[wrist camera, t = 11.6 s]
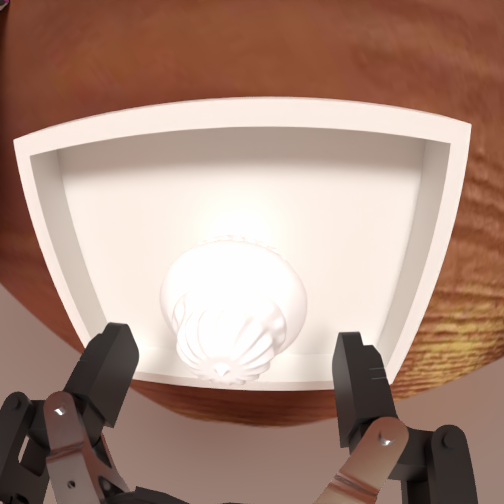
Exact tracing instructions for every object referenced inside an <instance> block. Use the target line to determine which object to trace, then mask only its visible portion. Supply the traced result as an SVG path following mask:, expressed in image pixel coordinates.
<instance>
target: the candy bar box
mask: <svg viewBox="0 0 504 504" xmlns="http://www.w3.org/2000/svg"><path fill="white" fill-rule="evenodd" d="M8 2H9V0H0V11H1V10H2V9H3V8H4V7H5V6H6V5H7V4H8Z"/></svg>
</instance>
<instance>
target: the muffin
mask: <svg viewBox="0 0 504 504" xmlns="http://www.w3.org/2000/svg"><path fill="white" fill-rule="evenodd" d="M160 307H161V311H162V314H163V317H164V320H165V322H166V324H167V326H168V328H169V329H170V331H171V332H172V334H173V335H174V336H175V338H176V339H177V343H176V350H177V353H178V355H179V357H180V358H181V360H182V361H183V364H184V365H185V367H186V368H187V369H188V370H189V371H190V372H192V373H193V374H196V375H197V377H198V378H200V379H201V380H206V381H209V380H210V381H211V382H212V383H213V384H220V383H222V384H225V385H226V386H230V385H232V384H238V385H243V384H245V382H246V381H254V380H256V379H258V378H259V376H260V374H262V373H264V372H266V371H267V370H268V369H269V368H270V360H272V359H273V358H274V357H275V356H277V355H278V354H280V353H281V352H283V351H284V350H285V349H287V348H288V347H289V346H290V345H291V344H292V343H293V342H294V341H295V339H296V338H297V336H298V335H299V333H300V331H301V329H302V327H303V325H304V322H305V319H306V314H307V295H306V290H305V287H304V285H303V282H302V280H301V278H300V277H299V275H298V274H297V272H296V271H295V269H294V268H293V267H292V266H291V265H290V264H289V263H288V262H287V261H286V258H285V257H283V256H282V255H280V254H279V253H277V250H276V249H275V248H273V247H271V246H269V245H267V244H266V243H265V242H263V241H260V240H258V239H256V238H252V237H250V236H243V235H242V234H240V235H236V234H230V235H224V236H217V237H211V239H210V240H206V241H201V242H199V245H197V246H194V247H192V248H190V249H188V250H186V251H185V252H183V253H182V254H180V255H179V256H178V257H177V258H176V259H175V260H174V261H173V262H172V264H171V265H170V267H169V268H168V270H167V272H166V274H165V276H164V278H163V281H162V285H161V289H160Z"/></svg>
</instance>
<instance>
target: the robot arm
mask: <svg viewBox="0 0 504 504" xmlns="http://www.w3.org/2000/svg"><path fill="white" fill-rule="evenodd" d="M138 362H139V349H138V347H137V344H136V342H135V340H134V337H133V335H132V332H131V330H130V327H129V325H128V324H124V323H115V322H109V323H108V324H107V325H106V327H105V329H104V331H103V332H102V334H101V333H98V334H97V335H96V336H95V337H94V338H93V339H91V340H90V341H89V343H88V345H87V346H86V348H85V350H84V353H83V354H82V355H81V357H80V361H78V363H77V365H76V367H75V368H74V370H73V372H72V374H71V376H70V378H69V380H68V382H67V384H66V386H65V388H64V389H63V391H58V392H55V393H53V394H51V395H50V396H49V397H48V398H47V399H46V400H29V399H28V397H27V396H26V395H25V394H24V393H22V392H14V393H12V394H10V395H9V396H8V397H7V398H6V400H5V401H4V403H3V405H2V407H1V410H0V504H43V501H44V497H45V493H46V490H47V486H48V483H49V479H50V480H51V484H52V488H53V491H54V494H55V498H56V501H57V504H189V503H187V502H184V501H182V500H180V499H177V498H175V497H173V496H170V495H168V494H166V493H163V492H158V491H153V490H149V489H145V488H141V487H137V486H136V490H135V491H132V492H130V490H129V488H128V486H127V484H126V483H125V481H124V480H123V478H122V477H121V476H120V474H119V473H118V471H117V469H116V466H115V464H114V462H113V459H112V457H111V454H110V451H109V449H108V446H107V443H106V441H105V438H104V435H103V433H102V429H103V426H107V427H111V428H114V425H115V422H116V420H117V417H118V414H119V412H120V409H121V406H122V404H123V401H124V398H125V396H126V393H127V390H128V388H129V385H130V383H131V380H132V378H133V375H134V373H135V370H136V368H137V365H138ZM332 376H333V384H334V392H335V400H336V408H337V417H338V427H339V436H340V447H341V448H344V447H349V451H350V456H349V458H348V459H347V461H346V462H345V464H344V465H343V466H342V468H341V469H340V470H339V472H338V473H337V474H336V476H335V477H334V478H333V479H332V481H331V482H330V483H329V484H328V486H327V487H326V488H325V489H324V491H323V492H322V493H321V494H320V496H319V497H318V498H317V499H316V500H315V502H314V503H313V504H375V502H376V500H377V495H378V493H379V491H380V489H381V488H382V486H383V485H384V483H385V481H386V480H387V479H393V480H401V490H402V504H478V500H477V492H476V486H475V479H474V474H473V468H472V463H471V458H470V453H469V449H468V444H467V440H466V437H465V434H464V432H463V431H462V430H461V429H460V428H458V427H457V426H454V425H444V426H441V427H439V428H438V429H437V430H436V431H435V432H433V431H423V430H416V429H412V428H409V427H407V426H406V425H405V424H404V423H403V422H402V421H400V420H399V418H398V416H397V414H396V410H395V406H394V402H393V398H392V394H391V390H390V386H389V383H388V379H387V375H386V371H385V369H384V364H383V361H382V357H381V354H380V353H379V352H378V351H377V350H376V348H375V347H374V346H373V345H363V341H362V337H361V334H360V332H359V331H355V332H339V333H338V337H337V341H336V346H335V350H334V354H333V359H332ZM25 436H28V437H29V441H28V443H27V446H26V449H25V451H24V454H23V457H22V460H21V462H20V463H19V460H18V456H19V452H20V450H21V447H22V444H23V442H24V439H25ZM223 504H240V503H223Z"/></svg>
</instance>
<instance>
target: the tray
mask: <svg viewBox="0 0 504 504" xmlns="http://www.w3.org/2000/svg"><path fill="white" fill-rule="evenodd" d="M470 133H471V124H469V123H466V122H463V121H460V120H456V119H453V118H449V117H446V116H442V115H438V114H434V113H429V112H424V111H419V110H414V109H408V108H402V107H396V106H390V105H383V104H375V103H367V102H359V101H349V100H338V99H324V98H306V97H234V98H216V99H202V100H191V101H181V102H172V103H164V104H156V105H149V106H142V107H136V108H130V109H125V110H119V111H114V112H109V113H104V114H99V115H94V116H90V117H86V118H81V119H77V120H73V121H69V122H66V123H62V124H58V125H55V126H51V127H48V128H45V129H42V130H39V131H36V132H33V133H30V134H28V135H25V136H22V137H20V138H17V139H15V140H13V141H14V147H15V153H16V158H17V163H18V168H19V173H20V177H21V182H22V186H23V190H24V194H25V198H26V202H27V205H28V209H29V212H30V216H31V219H32V223H33V226H34V229H35V232H36V235H37V238H38V241H39V244H40V247H41V250H42V253H43V256H44V258H45V261H46V264H47V266H48V269H49V272H50V274H51V277H52V279H53V282H54V284H55V286H56V289H57V291H58V293H59V296H60V298H61V300H62V303H63V305H64V307H65V309H66V311H67V313H68V316H69V318H70V320H71V322H72V324H73V326H74V328H75V330H76V332H77V334H78V336H79V338H80V340H81V342H82V343H83V345H84V347H85V348H86V346H87V345H88V343H89V341H90V340H91V339H93V338H94V337H95V336H96V335H97V334H98V333H101V334H102V332H103V331H104V329H105V327H106V325H107V324H108V323H109V322H115V323H124V324H128V325H129V327H130V330H131V332H132V335H133V337H134V340H135V342H136V344H137V347H138V349H139V362H138V365H137V368H136V370H135V373H134V375H133V378H132V379H138V380H144V381H151V382H158V383H166V384H174V385H183V386H193V387H205V388H218V389H235V390H265V391H297V390H327V389H334V384H333V376H332V359H333V354H334V350H335V346H336V341H337V337H338V333H339V332H355V331H359V332H360V334H361V337H362V341H363V345H373V346H374V347H375V348H376V350H377V351H378V352H379V353H380V354H381V357H382V361H383V364H384V369H385V371H386V375H387V379H388V383H389V384H392V382H393V380H394V378H395V376H396V375H397V373H398V371H399V369H400V367H401V365H402V363H403V361H404V358H405V356H406V354H407V352H408V350H409V348H410V346H411V344H412V341H413V339H414V337H415V335H416V332H417V330H418V328H419V325H420V323H421V321H422V318H423V316H424V313H425V311H426V308H427V306H428V303H429V300H430V298H431V295H432V292H433V290H434V287H435V284H436V281H437V278H438V275H439V272H440V269H441V266H442V263H443V260H444V257H445V254H446V250H447V247H448V243H449V240H450V236H451V233H452V229H453V225H454V221H455V217H456V213H457V209H458V204H459V200H460V195H461V190H462V185H463V180H464V174H465V169H466V163H467V156H468V149H469V141H470ZM230 234H236V235H240V234H242V235H243V236H250V237H252V238H256V239H258V240H260V241H263V242H265V243H266V244H267V245H269V246H271V247H273V248H275V249H276V250H277V253H279V254H280V255H282V256H283V257H285V258H286V261H287V262H288V263H289V264H290V265H291V266H292V267H293V268H294V269H295V271H296V272H297V274H298V275H299V277H300V278H301V280H302V282H303V285H304V287H305V290H306V295H307V314H306V319H305V322H304V325H303V327H302V329H301V331H300V333H299V335H298V336H297V338H296V339H295V341H294V342H293V343H292V344H291V345H290V346H289V347H288V348H287V349H285V350H284V351H283V352H281V353H280V354H278V355H277V356H275V357H274V358H273V359H272V360H270V368H269V369H268V370H267V371H266V372H264V373H262V374H260V376H259V378H258V379H256V380H254V381H246V382H245V384H243V385H238V384H232V385H230V386H226V385H225V384H222V383H220V384H213V383H212V382H211V381H210V380H209V381H206V380H201V379H200V378H198V377H197V375H196V374H193V373H192V372H190V371H189V370H188V369H187V368H186V367H185V365H184V364H183V361H182V360H181V358H180V357H179V355H178V353H177V350H176V343H177V339H176V338H175V336H174V335H173V334H172V332H171V331H170V329H169V328H168V326H167V324H166V322H165V320H164V317H163V314H162V311H161V307H160V289H161V285H162V281H163V278H164V276H165V274H166V272H167V270H168V268H169V267H170V265H171V264H172V262H173V261H174V260H175V259H176V258H177V257H178V256H179V255H180V254H182V253H183V252H185V251H186V250H188V249H190V248H192V247H194V246H197V245H199V242H201V241H206V240H210V239H211V237H217V236H224V235H230Z"/></svg>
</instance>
